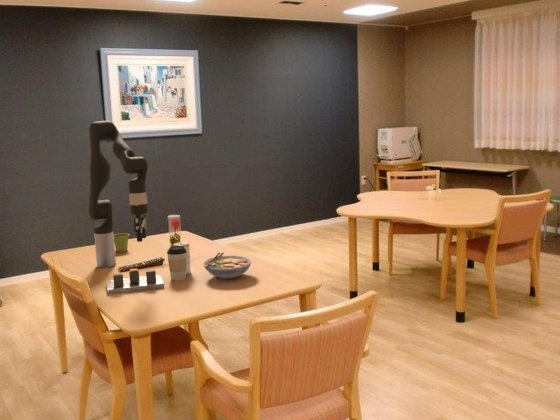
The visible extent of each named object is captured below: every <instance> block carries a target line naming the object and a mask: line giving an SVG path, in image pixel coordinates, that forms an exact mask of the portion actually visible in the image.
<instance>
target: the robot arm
mask: <svg viewBox="0 0 560 420" xmlns="http://www.w3.org/2000/svg"><path fill="white" fill-rule="evenodd" d="M88 132H89V146H90V165H89V167H90V169H89V183H90V184H89V185H90V188H89V189H90V190H89V199H88V216H89V218H90V219H91V220H93V221H94V220H103V219H104V220H103V221H101V222H100V223H99V224H98V225H95V226H93V235H94V245H95V248H94V249H95V259H96V267H97V268H101V269H102V268H111V267H114V266H116V264H117V262H116V261H117V260H116V248H115V244H114V235H115V234H114V224H113V223H114V220H113V219H114V217H113V215H114V214H113V204H112V202H111V200H110V199H103V200H102V199H100V200H99V198H100V195H101V194H102V192H103V191H104V189H105V188H106V186H107V185H108V183H109V181H110V179H111V164H110V162H109V161H108V158H107V157H106V156H105V155H104V154H103V151H102V150H101V142H106V141H107V142H108V141H113V142H112V143H113V144H112V152H113V154H114V156H115V157H116V158H117V160H119V162H120V164H121V167H122V169H123V171H124V172H125V173H126V174H129V175H134V174H135V175H136V177H135V178H133V179H130V180H129V181H128V192H129V194H128V195H129V200H128V201H129V209H130V212H129V213H130V215H131V216H135V218H133V227H134V229H133V230H134V231H133V232H134V233H135V234H136V241H137V242H138V243H139V242H143V239H146V238H147V227H148V224H147V215H146V214H149V206H148V196H147V190H146V189H147V188H146V179H147V174H148V168H149V163H148V161H147V159H146V158H145V157H144V156H136V154H135V152H134V150H132V148H131V147H130V146H129V145H128V144H127V143H126V141H125V140H124V139H123V136H122V135H121V133H120V131H119V130H118V128H117V126H116V125H115V123H114V122H113V121H111V120H107V119H106V120H99V121H93V122H91V123H90V125H89V131H88Z"/></svg>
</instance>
